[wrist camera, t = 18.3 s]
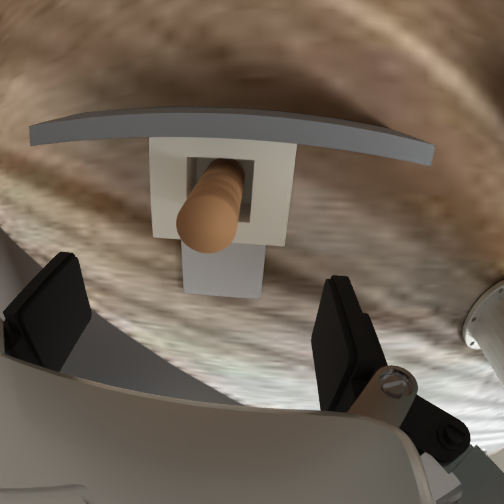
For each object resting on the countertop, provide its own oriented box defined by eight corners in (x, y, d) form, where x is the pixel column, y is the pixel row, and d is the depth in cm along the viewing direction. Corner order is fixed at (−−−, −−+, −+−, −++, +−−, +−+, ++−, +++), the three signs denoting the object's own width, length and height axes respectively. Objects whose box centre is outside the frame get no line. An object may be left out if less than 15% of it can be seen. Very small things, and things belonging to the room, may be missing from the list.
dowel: (246, 158, 24) (238, 198, 15) (243, 195, 26) (235, 255, 17) (206, 156, 24) (175, 195, 15) (205, 193, 26) (177, 251, 17)
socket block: (289, 130, 24) (297, 139, 19) (280, 220, 28) (284, 246, 23) (168, 124, 24) (149, 132, 19) (169, 212, 27) (153, 237, 23)
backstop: (389, 128, 24) (434, 145, 17) (350, 299, 33) (369, 352, 26) (81, 113, 23) (29, 126, 16) (101, 281, 32) (71, 327, 25)
